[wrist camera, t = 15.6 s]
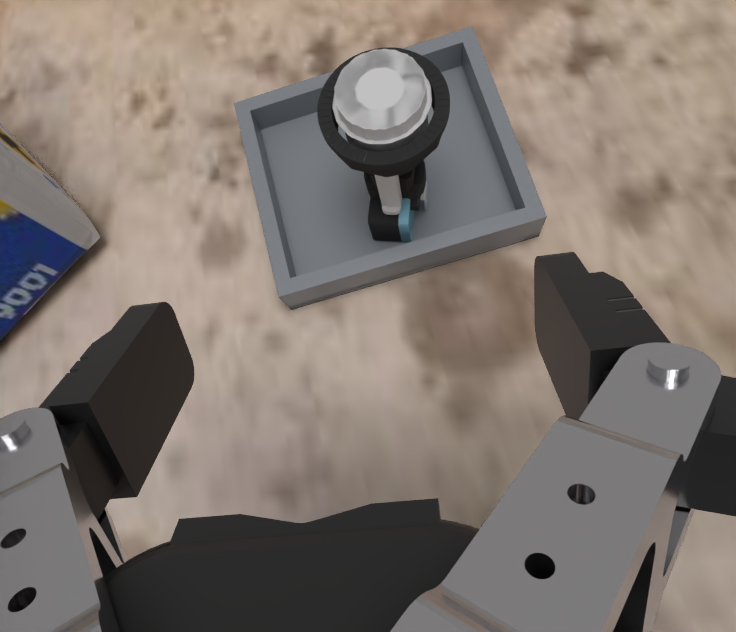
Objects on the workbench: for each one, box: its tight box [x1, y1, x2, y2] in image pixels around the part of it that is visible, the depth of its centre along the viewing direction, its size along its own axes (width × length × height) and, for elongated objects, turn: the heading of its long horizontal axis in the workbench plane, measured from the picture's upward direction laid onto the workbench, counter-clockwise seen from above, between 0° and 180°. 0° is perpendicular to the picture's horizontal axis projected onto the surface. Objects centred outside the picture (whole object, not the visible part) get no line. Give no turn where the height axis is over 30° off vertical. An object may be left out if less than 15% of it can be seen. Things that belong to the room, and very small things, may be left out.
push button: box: [317, 48, 450, 242], centre depth 26 cm, size 7×5×10 cm
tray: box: [234, 26, 547, 309], centre depth 31 cm, size 14×12×2 cm
